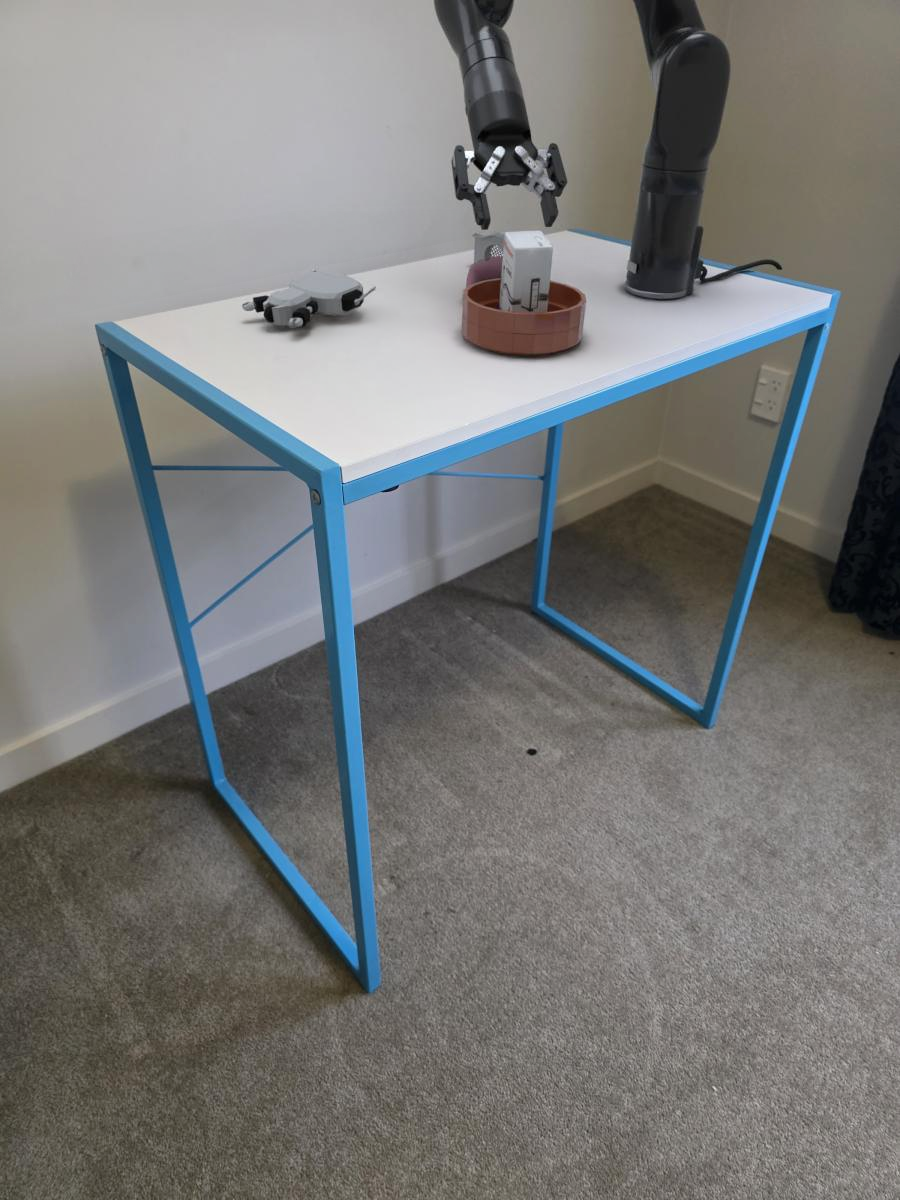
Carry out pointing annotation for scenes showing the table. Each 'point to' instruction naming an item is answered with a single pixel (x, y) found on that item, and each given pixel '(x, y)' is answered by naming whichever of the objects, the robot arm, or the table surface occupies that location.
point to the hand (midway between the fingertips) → (518, 224)
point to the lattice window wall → (487, 245)
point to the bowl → (522, 320)
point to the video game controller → (485, 270)
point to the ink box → (525, 272)
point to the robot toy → (310, 299)
